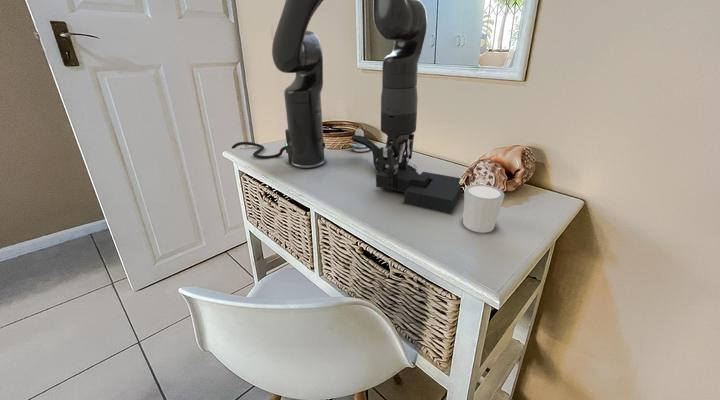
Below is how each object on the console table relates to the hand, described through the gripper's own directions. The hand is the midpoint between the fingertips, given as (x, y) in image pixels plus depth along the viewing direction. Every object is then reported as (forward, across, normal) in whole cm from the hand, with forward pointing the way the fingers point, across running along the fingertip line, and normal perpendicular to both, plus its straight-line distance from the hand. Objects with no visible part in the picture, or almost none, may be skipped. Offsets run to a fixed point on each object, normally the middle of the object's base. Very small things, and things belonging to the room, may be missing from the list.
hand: (396, 183), depth 76 cm
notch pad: (+2, -1, +9) cm, 9 cm away
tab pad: (+1, 0, +1) cm, 2 cm away
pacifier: (+1, -22, -21) cm, 31 cm away
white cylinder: (+2, +7, +20) cm, 21 cm away
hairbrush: (-1, -11, -10) cm, 15 cm away
